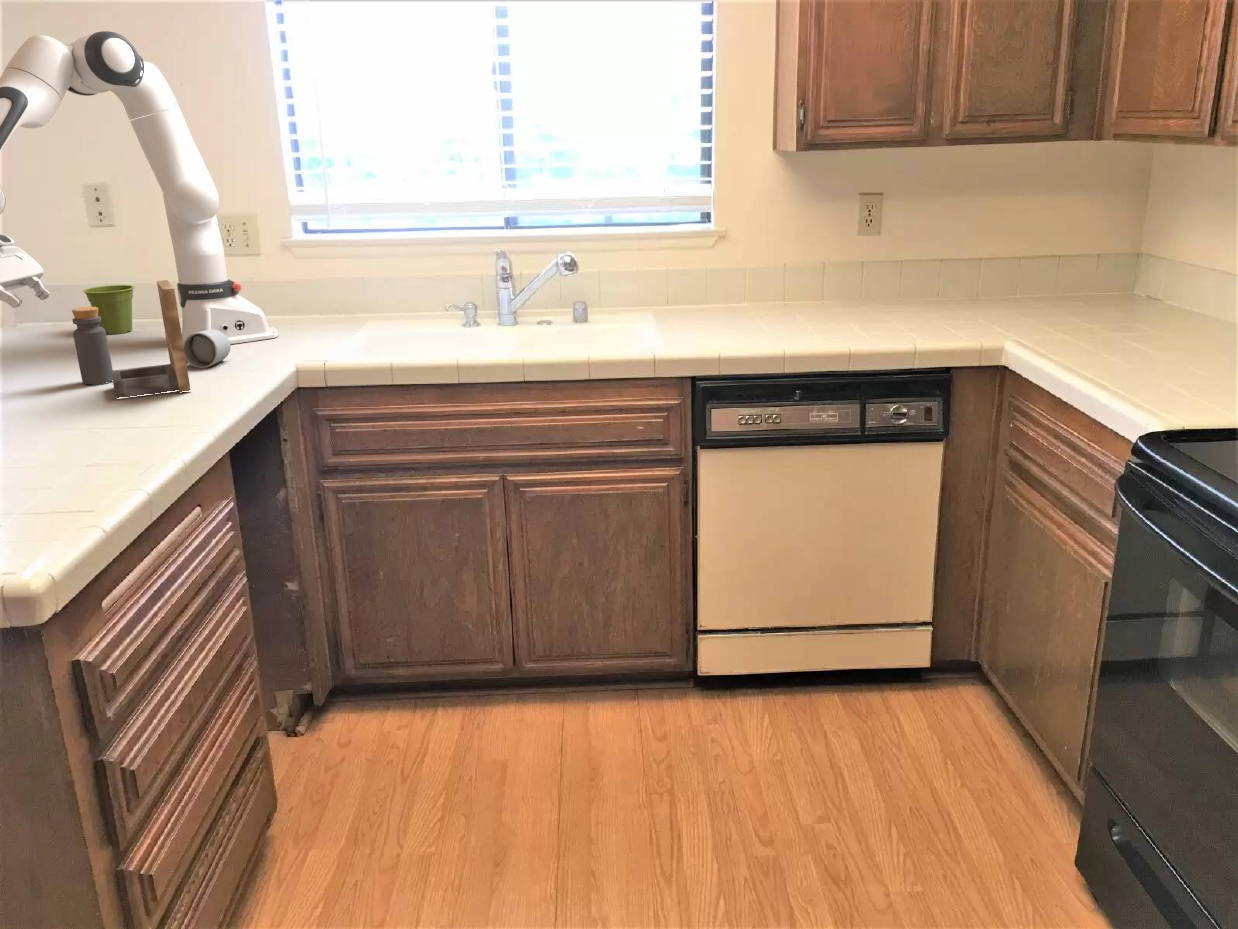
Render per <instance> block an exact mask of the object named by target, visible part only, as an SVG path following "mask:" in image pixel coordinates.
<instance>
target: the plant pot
mask: <svg viewBox="0 0 1238 929" xmlns="http://www.w3.org/2000/svg"><path fill="white" fill-rule="evenodd" d="M134 289H135V286H134V285H131V284H112V285H111V284H109V285H101V286H93V287H89V288H85V289H83V290H82V292H83V293H84V294H85V295H86V297H87V301H88V302H89V304H90V307H97V308H98V316H100V317H101V322H99V326H100V327H102V328H104V329H105V332H106V335H107V334H109V335H119V334H122V333H123V334H125V333H127V332H132V331H133V297H134V296H133V294H134Z"/></svg>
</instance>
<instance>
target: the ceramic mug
mask: <svg viewBox="0 0 1238 929" xmlns="http://www.w3.org/2000/svg"><path fill="white" fill-rule="evenodd" d="M183 346H184V352H185V358H186V364H187V363H189V364H190V365H191V366H193V367H195V368H197V367H201V368H200V369H206V368H209V367H212V366H214V365H216V364H218V363H221V362H222V361H224V360H225V359H226V358H227V357H228V356H229V354H230V352H231V344H230V341H229V339H228V338H227V336H226V335H225V334H224V333H222V332H220V331H218V330H212V329H211V330H205V331H201V332H196V333H192V334H191V335H189V336H188V337H187V338H186V339H185V341H184V343H183ZM202 367H203V368H202Z"/></svg>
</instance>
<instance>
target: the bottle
mask: <svg viewBox="0 0 1238 929" xmlns="http://www.w3.org/2000/svg"><path fill="white" fill-rule="evenodd" d="M71 312H72V315H73V317H74V318H72V323H73V325H75V326H76V329H75V330H74V331H73V332H72V335H73V339H74V346H75V352H76V355H77V356H76V357H77V361H78V367H79V371H80V377H81V382H82V384H83V385H84V384H101V385H104V384H103V383H106V382H110V381H112V374H111V371H112V370H114V369H113V364H112V359H111V353H110V348H109V343H108V338H107V334H106V332H105V329H104V328H102V327H100V326H99V322H101V317H100V316H98V308H97V307H92V306H84V307H76V308H73V309H71ZM110 383H111V382H110ZM106 384H107V383H106Z"/></svg>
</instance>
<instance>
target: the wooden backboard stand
mask: <svg viewBox="0 0 1238 929" xmlns="http://www.w3.org/2000/svg"><path fill="white" fill-rule="evenodd" d="M156 285H157V291H158V297H159V298H158V299H159V302H160V303H159V304H160V309H161V314H162V320H163V327H164V328H163V329H164V333H165V339H166V344H167V351H168V352H167V353H168V358H169V363H168V364H159V365H151V366H139V367H131V368H130V367H129V368H123V369H122V368H121V369H115V370H114V369H113V370H112V371H111V374H112V380H113V382H112V385H113V390H114V394H116V395H115V399H116V398H119V397H130V396H137V395H144V394H155V393H161V392H167V391H175V390H179V392H182V391H189V390H192V389H191V383H190V377H189V372H188V367H187V366H188V364H187V363H186V358H185V352H184V346H183V339H182V328H181V327H182V326H181V322H180V316H179V309H178V303H177V298H176V291H175V287H173V285H172V284H171V283H170V282H169V280H168V279H164V280H156ZM179 392H178V393H179Z"/></svg>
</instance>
